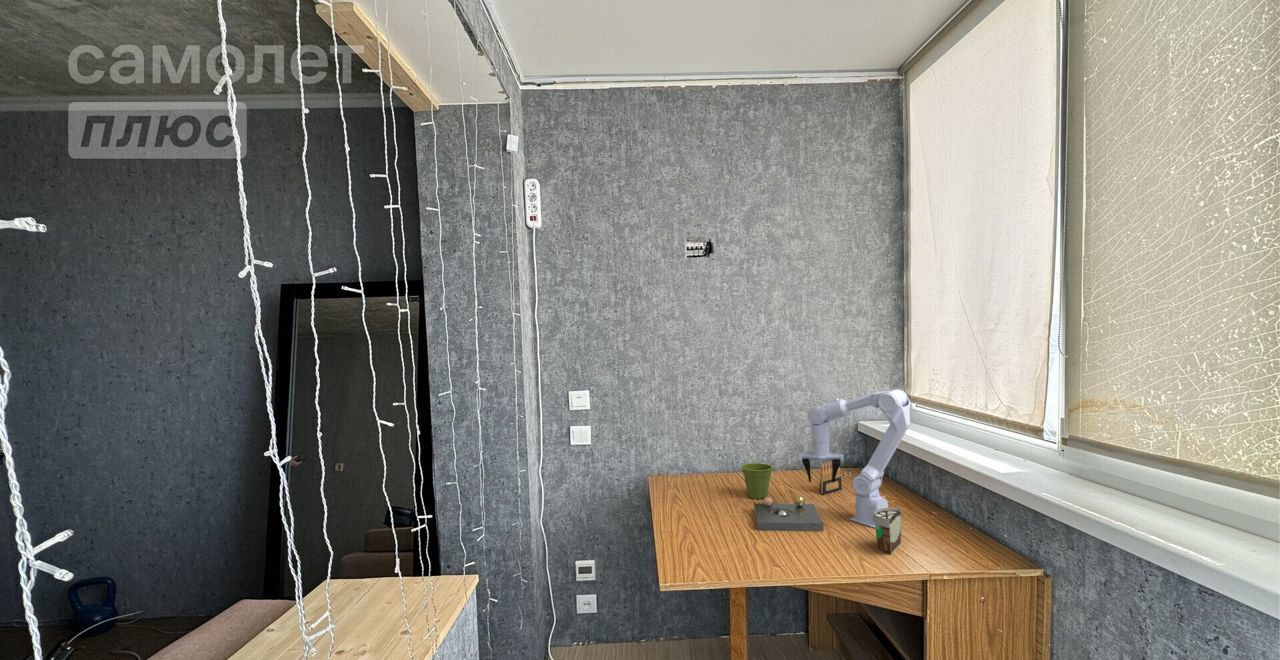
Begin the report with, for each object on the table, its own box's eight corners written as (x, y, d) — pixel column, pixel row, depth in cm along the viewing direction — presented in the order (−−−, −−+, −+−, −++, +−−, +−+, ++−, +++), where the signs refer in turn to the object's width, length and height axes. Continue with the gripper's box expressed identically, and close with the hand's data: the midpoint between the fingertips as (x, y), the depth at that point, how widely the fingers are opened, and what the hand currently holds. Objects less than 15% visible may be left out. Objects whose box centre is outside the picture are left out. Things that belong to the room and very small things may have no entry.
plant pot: (777, 501, 214) (776, 470, 214) (744, 501, 215) (743, 471, 214) (770, 491, 226) (769, 462, 226) (739, 492, 226) (738, 463, 226)
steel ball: (778, 508, 194) (774, 516, 194) (786, 513, 192) (781, 522, 192) (783, 508, 196) (779, 517, 197) (791, 514, 194) (786, 522, 194)
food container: (880, 537, 176) (880, 504, 176) (902, 542, 173) (901, 508, 172) (866, 551, 167) (866, 516, 167) (889, 556, 163) (888, 520, 163)
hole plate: (813, 511, 202) (813, 503, 202) (823, 531, 183) (823, 523, 183) (754, 510, 205) (754, 503, 205) (758, 530, 186) (757, 522, 186)
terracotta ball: (774, 506, 201) (774, 497, 201) (767, 507, 200) (767, 499, 200) (768, 503, 204) (767, 495, 204) (761, 505, 202) (761, 496, 202)
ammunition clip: (823, 495, 219) (822, 463, 219) (819, 494, 221) (818, 462, 220) (842, 489, 225) (841, 458, 225) (837, 488, 227) (837, 457, 226)
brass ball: (807, 506, 200) (807, 495, 200) (799, 508, 198) (799, 497, 198) (799, 503, 203) (798, 493, 203) (791, 505, 201) (791, 495, 201)
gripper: (798, 443, 198) (800, 483, 199) (844, 444, 195) (845, 485, 196) (798, 439, 205) (799, 478, 206) (841, 439, 202) (842, 479, 202)
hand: (821, 481), depth 201 cm, fingers open, 7 cm apart
